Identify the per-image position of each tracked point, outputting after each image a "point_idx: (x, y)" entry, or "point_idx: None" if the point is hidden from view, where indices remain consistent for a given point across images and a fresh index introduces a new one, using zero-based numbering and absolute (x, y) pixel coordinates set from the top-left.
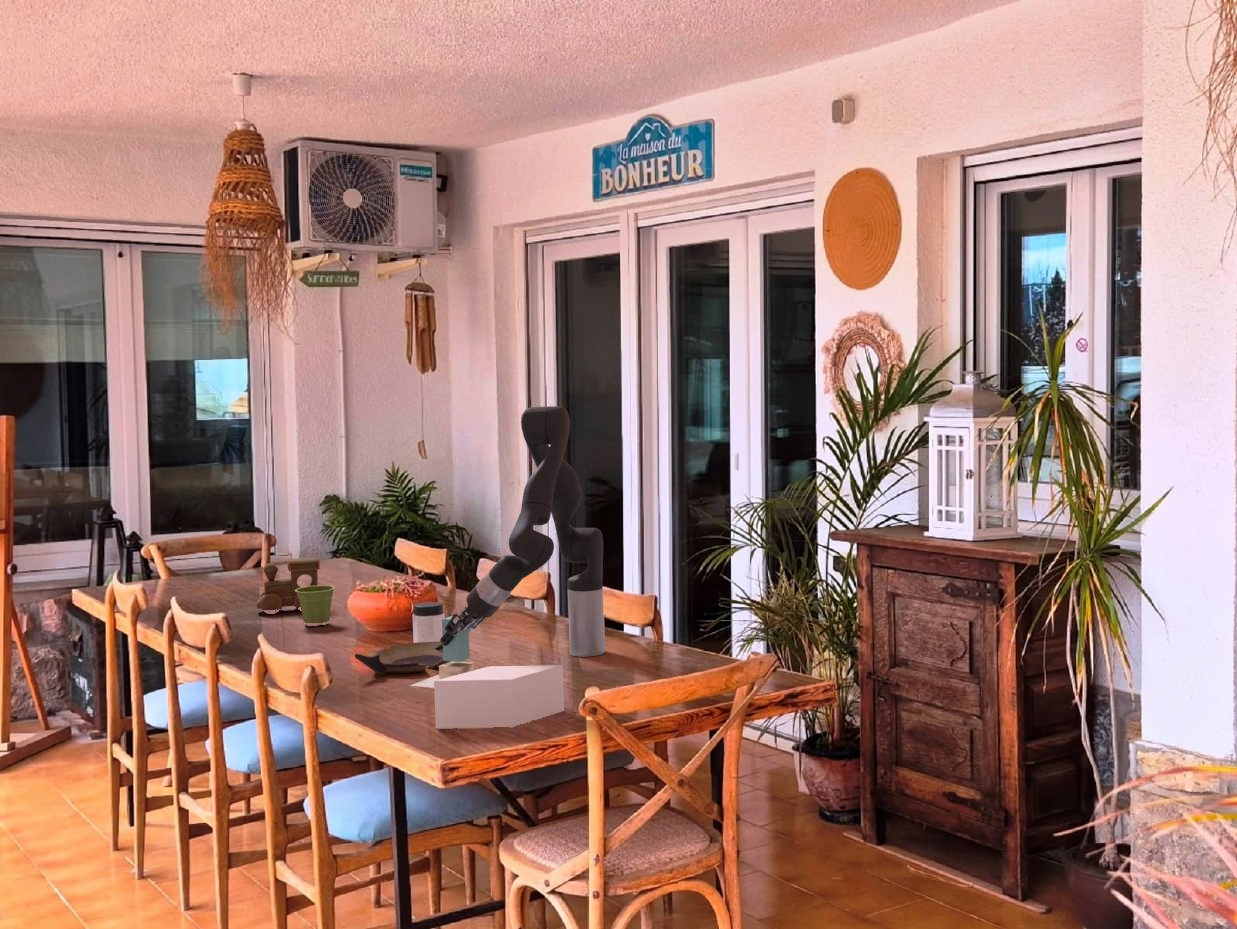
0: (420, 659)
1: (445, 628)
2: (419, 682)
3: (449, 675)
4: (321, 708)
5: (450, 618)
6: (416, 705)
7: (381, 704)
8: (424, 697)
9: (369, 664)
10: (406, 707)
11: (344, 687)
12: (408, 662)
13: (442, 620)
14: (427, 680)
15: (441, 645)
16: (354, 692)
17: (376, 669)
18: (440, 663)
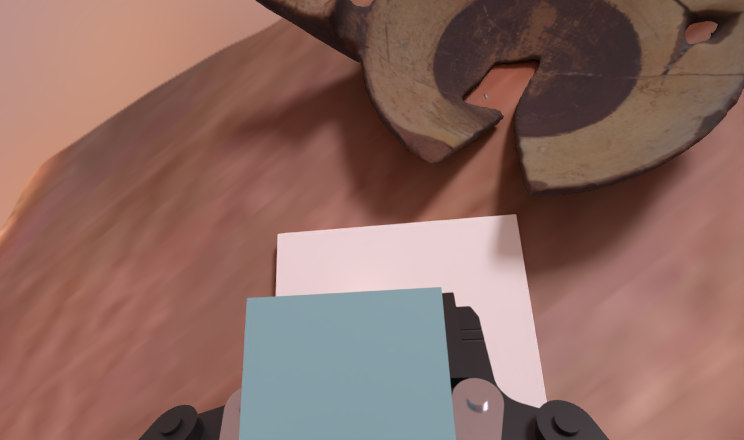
0: (592, 26)
1: (157, 426)
2: (324, 235)
3: None
4: (48, 160)
5: (301, 367)
6: (112, 395)
7: (106, 278)
8: (209, 351)
9: (303, 29)
10: (86, 379)
11: (251, 54)
12: (548, 14)
13: (251, 307)
14: (359, 241)
15: (724, 13)
16: (210, 114)
17: (335, 49)
18: (521, 170)
